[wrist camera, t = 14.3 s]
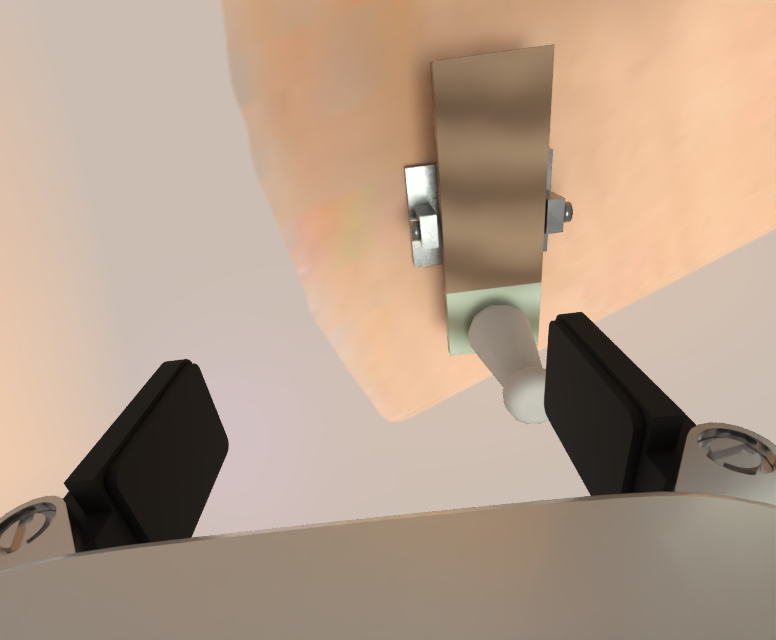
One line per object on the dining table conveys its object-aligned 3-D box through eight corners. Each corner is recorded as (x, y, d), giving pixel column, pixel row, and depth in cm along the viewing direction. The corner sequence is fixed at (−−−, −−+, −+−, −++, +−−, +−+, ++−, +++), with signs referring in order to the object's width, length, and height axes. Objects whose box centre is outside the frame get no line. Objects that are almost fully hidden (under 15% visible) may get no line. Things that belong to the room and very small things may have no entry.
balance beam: (430, 63, 32) (432, 61, 31) (546, 46, 32) (554, 44, 30) (448, 348, 44) (450, 355, 42) (532, 338, 44) (537, 345, 42)
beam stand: (402, 167, 40) (406, 177, 35) (550, 148, 40) (578, 154, 34) (411, 264, 45) (417, 285, 39) (545, 247, 44) (568, 267, 39)
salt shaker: (474, 290, 39) (516, 366, 28) (530, 301, 40) (594, 379, 28) (457, 342, 42) (488, 432, 30) (510, 351, 42) (561, 442, 31)
